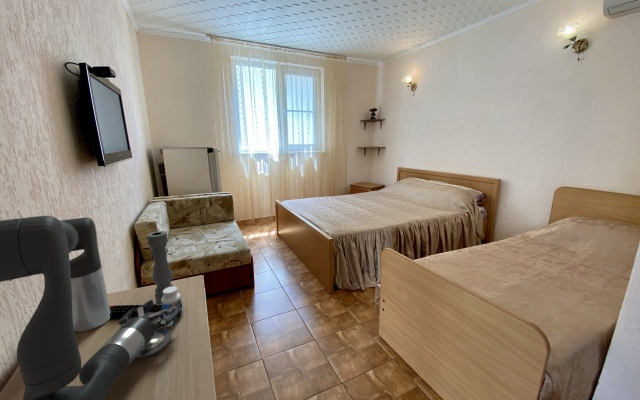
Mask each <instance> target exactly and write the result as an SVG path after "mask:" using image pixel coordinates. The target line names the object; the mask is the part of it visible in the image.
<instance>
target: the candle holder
mask: <svg viewBox="0 0 640 400" xmlns="http://www.w3.org/2000/svg"><path fill="white" fill-rule="evenodd" d="M146 240H147V244H148V246H149V248H150V249H151V251H150V252H149V254H150V255H151V256H152V257H153V270H152V277H151V279H152V282H153V283H154V284H155V285H156V287H155V290H154V298H155V304H159V305H160V304H161V299H162V297H163V290H164V289H166V288H168V287H172V286H174V285H173V284H172V279H173V277H174V273H173V271H172V269H171V267H170V264H169V261H168V255H167V253H168V252H169V249H168V247H167V245H168V242H169V239H168V233H167V231H166V230H165V231H164V230H159V231H153V232H149V233H148V234H147V235H146ZM161 305H162V304H161Z"/></svg>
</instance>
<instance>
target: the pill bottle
mask: <svg viewBox="0 0 640 400" xmlns="http://www.w3.org/2000/svg"><path fill="white" fill-rule="evenodd" d="M178 290H179V289H178V287H177V286H174V285H173V286H172V287H168V288H166V289H164V290H163V297H162V299H161V304H162V306H161V310H164V309H166V310H167V309H169V308H171V307H172V306H173V305H174V304H175V303H176V301H177V300H181V301H182V297H181V293H179V292H178ZM170 314H172V313H171V312H169V313H168V315H170ZM181 314H182V316H183V306H182V307H181ZM182 316H181V318H182ZM162 317H163V318H162V320H163V319H164V315H163V314H162Z"/></svg>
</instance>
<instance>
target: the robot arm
mask: <svg viewBox="0 0 640 400" xmlns="http://www.w3.org/2000/svg"><path fill="white" fill-rule="evenodd" d="M81 250H83V252H81V254H78V255H77V256H76V257H74V258H72V259H70V253H71V252H76V251H81ZM36 275H43V278H44V279H43V281H44V286H43V289H44V290H43V294H42V295H41V299H40V301H39V304H38V305H37V307H36V309H35V311H34V313H33V315H32V316H31V318H30V320H29V321H28V322H27V325H26V326H25V327H24V330H23V331H22V332H21V335H20V337H19V340H18V344H17V346H16V360H17V364H18V368H19V371H20V374H21V378H22V381H23V384H24V392H23V398H22V400H106V398H107V395H108V394H109V392H110V390H111V389H112V387H113V384H114V383H115V382H116V379H118V377H119V376H120V375H121V374H122V373H123V371H124V370H125V369H126V368H127V367H128V366H129V365H130V364H131V363H132V362H133V361H134V360H135V359H137V358H136V357H137V355H138V354H139V353H140V352H141V351H142V349H143V348H144V347H145V346H146V345H147V344H148V342H149V341H150V340H151V339H152V338H153V336H154V334H155V332H156V330H157V329H159V328H162V327H166V328H165V329H167V330H171V329H172V328H173V327H174V325H176V323H177V322H178V321H179V320H180V319H181V318H182V317H181V316H183V313H182V314H181V307H182V308H183V302H182V299H181V300H177V301H176V303H175V304H174V305H173V306H172V307H171V308H169V309H167V310H166V309H164V310H162V309H161V310H160V311H157V312H152V311H151V312H150V310H151V309H153V307H154V299H149V300H148V301H146V302H144V304H143V305H141V306H139V307H137V308H135V307H133V308H130V309H129V310H128V311H127V312H126V313H125V314H124V315H123V316H122V317H121V318H120V319H118V327H119V329H118V330H117V331H116V332H115V333H113V335H111V336H110V338H109V339H107V341H106V342H105V343H104V344H103V346H102V347H100V348H99V349H98V350H97V351H96V352H95V353H94V354H93V355H92V356H91V357H90V358H88V360H86V362H85V363H84V364H83V365H82V358H81V355H80V349H79V345H78V341H77V337H76V333H77V332H78V333H81V332H87V331H90V330H93V329H96V328H98V327H100V326H102V325H103V324H105V323H107V322H108V321H109V320H110V319H111V317H110V313H111V308H110V302H109V298H108V297H109V296H108V292H107V287H106V283H105V282H106V280H105V277H104V271H103V266H102V261H101V256H100V251H99V245H98V237H97V227H96V225H95V221H94V220H93V219H92V218H91V217H78V218H70V219H69V218H68V219H62V220H60V219H58V218H57V217H55V216H53V215H38V216H30V217H20V218H12V219H4V220H0V283H2V282H7V281H13V280H16V279H17V280H18V279H21V278H26V277H27V278H28V277H32V276H36ZM169 312H171V313H172V314H170V315H168V313H169ZM163 315H164V319H163V318H162V316H163ZM77 377H78V378H79V381H80V383H81V384H82V385H69V384H71V383H73V381H75V380H76V378H77Z"/></svg>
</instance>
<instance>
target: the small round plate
mask: <svg viewBox="0 0 640 400" xmlns="http://www.w3.org/2000/svg"><path fill="white" fill-rule="evenodd" d="M171 340H172V332H171V331H170V329H167V328H162V327H160V328H159V329H157V330H156V332H155V334H154V336H153V338H152V339H151V340H150V341H149V342H148V344H147V345H146V346H145V347H144V348H143V349H142V351H141V352H140V353H139V354H138V355H137V357H136V358H135V359H143V358H144V359H145V358H147V357H151V356H154V355H156V354H157V353H159V352H161V351H164V349H165V348H166V347H167V346H168V345H169V344H170V342H171Z"/></svg>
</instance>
